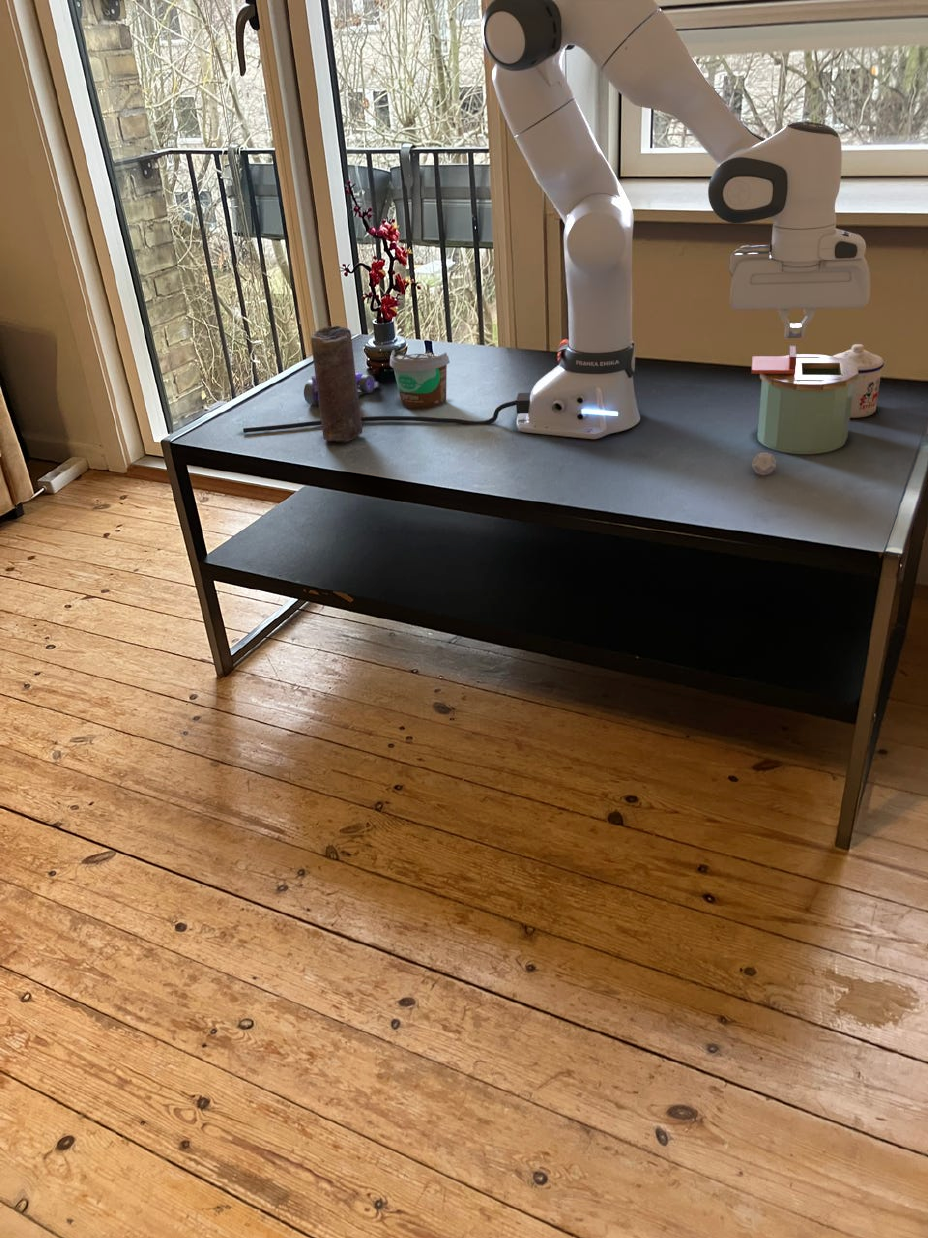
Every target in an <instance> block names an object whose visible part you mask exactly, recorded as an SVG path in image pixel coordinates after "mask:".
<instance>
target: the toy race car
mask: <svg viewBox="0 0 928 1238" xmlns="http://www.w3.org/2000/svg"><path fill="white" fill-rule="evenodd" d="M355 374H356V382H357V390H359V391H358V398H359V397H360V396H362V395H364V394H371V393H373V391H374V389H376V388H378V387H379V382H378V381H375V377H374V376H373V375H371V374H363V373H360V372H355ZM358 388H359V389H358ZM303 397H304V401H305V402H306V403H307V404H309V405H313V406H314V405H316V406H319V399H318V391H317V383H316V376H315V374H313V375H311V379H309V380H308V381H307V382H306V383H305V384H304V387H303Z"/></svg>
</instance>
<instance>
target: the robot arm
mask: <svg viewBox="0 0 928 1238" xmlns="http://www.w3.org/2000/svg"><path fill="white" fill-rule="evenodd" d="M481 38H482V43H483V46H484V48H485V51H486V52H487V55H488V56H489V58H490V59H491V60H492V61H493V62H494V63H495V64H494V66H493V68H492V73H491V78H492V80H491V81H492V85H493V87H494V91H495V94H496V97H497V100H498V101H497V102H498V104H499V107H500V109H501V111H502V113H503V116H504V118H505V121H506V123H507V126H508V127H509V130H510V132H511V134H512V136H513V138H514V140H515V142H516V145H518V148H519V149H520V152H521V154H522V155H523V158H524V160H525V161H526V163H527V166H528V168H529V169H530V171H531V173H532V175H533V177H534V179H535V181H536V183H537V184H538V185H539V186H540V187H541V189H542V190H543V192H544V193H545V194H546V196H547V198H548V199H549V200H550V202H551V203H552V206H553V207H554V209H555V210H556V211H557V213H558V215H559V216H560V218H561V220H562V222H563V224H564V230H563V253H564V254H563V255H564V271H565V284H566V295H567V313H568V314H567V317H568V321H567V322H568V339H567V338H565V339H562V340H561V341H560V343H559V345H558V350H557V363H558V365H556V366H555V367H554V368H552V370H550V371H549V372H547V373H546V374H545V375H543V376H542V377H541V378H539V380H538V381H537V382H536V383H535V384H534V386H533V387H532V389H531V391H530V392H518V393H517V395H516V399H515V400H511V401H508V402H504V403H501V404H500V405H498V406H497V407H496V408H495V409H494V411H493V414H492V417H491V418H488V419H486V420H482V421H475V420H469V419H468V420H467V419H462V418H453V417H452V418H451V417H449V418H448V417H434V416H433V417H432V416H421V415H420V416H418V415H372V416H371V415H370V416H369V415H367V416H361V422H377V421H379V422H380V421H381V422H382V421H396V422H397V421H402V422H404V421H405V422H427V423H439V424H441V423H442V424H457V425H465V426H481V425H491V424H492V423H495V422H496V421H497V420H498V417H499V413H500V412H501V411H502V410H504V409H507V408H510V407H515V408H516V414H518V415H517V418H516V428H517V429H518V430H519V431H520V432H522V433H530V434H540V435H548V436H556V437H557V436H559V437H569V438H578V439H586V440H587V439H589V440H597V439H601V438H604V437H605V436H608V435H611V434H614V433H619V432H623V431H627V430H629V429H632V428H633V427H635V426H636V425H638V423H640V421H641V415H640V412H639V408H638V404H637V399H636V394H635V393H636V392H635V386H634V374H635V369H636V350H635V342H634V341H633V235H634V224H635V223H634V222H635V217H634V216H635V215H634V211H633V210H634V209H633V207H632V205H631V202H630V200H629V199H628V197H627V195H626V193H625V191H624V189H623V187H622V185H621V184H620V182H619V179H618V177H617V176H616V173H615V172H614V171H613V169H612V167H611V165H610V163H609V162H608V160H607V158H606V157H605V155H604V153H603V152H602V150H601V148H600V146H599V144H598V142H597V140H596V138H595V136H594V134H593V132H592V130H591V127H590V125H589V123H588V121H587V119H586V117H585V116H584V113H583V111H582V109H581V108H580V105H579V103H578V101H577V99H576V97H575V94H574V93H573V90H572V89H571V87H570V85H569V82H568V81H567V79H566V76H565V74H564V70H563V64H562V63H563V62H562V61H563V55H564V53H565V51H571V50H573V49H574V48H575V47H578V48H580V49H581V50H582V51H584V52H585V53H586V55H587V56H588V57H589V58H590V59H591V61H592V63H594V65H595V66H596V67H597V69H598V70H599V71H600V72H601V74H602V75H603V76H604V77H605V80H607V81H608V82H609V83H610V85H611V86H612V87H613V88H614V89H615V90H616V91H617V92H618V93H619V94H621V95H622V96H623V97H624V98H625V99H627V101H629V103H632V104H633V105H634V106H635V107H636V106H637V107H641V108H645V109H651V110H654V111H658V112H661V113H664V114H666V115H668V116H670V117H673V118H674V119H676V120H677V121H678V122H679V123H681V124H682V125H683V126H684V127H685V128H686V129H687V131H689V133H690V134H691V135H692V136H693V138H694V139H695V140H696V141H697V142H698V143H699V144H700V146H701V147H702V148H703V149H704V150H705V151H706V153H707V154H708V155H709V156H710V157H711V158H712V160H713V161H714V163H715V164H716V166H717V167H716V169H715V171H714V172H713V174H712V175H711V177H710V179H709V183H708V187H707V197H708V201H709V205H710V207H711V209H712V210H713V212H714V214H715V215H716V216H717V217H718V218H720V219H721V220H723V221H725V222H727V223H730V224H748V223H751V222H757V221H761V220H765V219H769V218H772V231H771V232H772V233H771V244H761V245H760V244H759V245H751V246H750V245H742V246H740V247H739V248H737V249H736V250H733V252H732V253H731V254H730V256H729V257H728V272H729V274H730V275H731V277H732V279H731V284H730V291H729V301H728V302H729V303H728V304H729V306H730V308H731V309H732V310H734V311H771V310H772V311H773V310H775V311H776V310H777V311H778V317H779V319H780V321H781V323H782V325H783V327H784V339H804V338H805V337H806V328H807V327H808V325H809V324H810V323H811V321H812V320H813V318H814V317H815V310H818V309H821V310H823V309H825V310H827V309H861V308H864V307H865V306H866V305H867V304H868V303H869V302H870V296H871V295H870V294H871V274H870V267H869V264H868V261H867V259H866V257H865V254H866V250H867V244H866V240H865V239H864V238H863V236H861V235H860V234H858V233H853V232H851V231H846V230H843V229H840V228H837V214H836V202H837V198H838V196H839V192H840V189H841V178H842V164H843V163H842V156H843V154H842V151H843V149H842V142H841V137H840V135H839V133H838V132H837V131H836V130H835V129H834V128H833V127H831V126H830V125H826V124H823V123H819V122H813V121H793V122H790V123H787V124H786V125H785V126H784V127H783V128H782V129H780V130H779V131H778V132H776V133H775V134H773V135H772V136H770V137H767V138H765V137H763V136H762V135H759V134H758V133H755V132H754V131H752V130H751V129H749V128H748V127H747V126H746V124H745V123H744V122H743V121H742V120H741V119H740V117H739V116H738V115H737V114H736V113H735V112H734V111H733V109H732V108H731V107H730V105H728V103H727V102H726V101H725V100H724V99H723V98H722V96H721V95H720V94H719V92H718V91H717V90H716V89H715V88H714V87H713V85H712V84H711V83H710V82H709V81H708V79H707V78H706V76H705V74H704V73H703V72H702V70H701V68H700V66H699V65H698V64H697V62H696V61H695V58H694V57H693V56H692V53H691V52H690V51H689V49H688V47H687V45H686V43H685V42H684V40H683V39H682V37H681V35H680V34H679V33H678V31H677V29H676V27H674V25H673V23H672V22H671V21H670V19H669V18H668V16H667V15H666V13H664V11H663V10H662V8H660V6H659V5H658V4H657V2H656V1H655V0H491V2H490V3H489V4H488V5H487V7H486V9H485V11H484V14H483V16H482V20H481ZM790 310H803V313H804V316H805V317H803V319H802V321H801V323H790V321H789V319H788V317H789V315H790ZM314 426H322V424H321V419H320V420H311V421H303V422H293V423H284V424H275V425H274V424H273V425H265V426H264V425H263V426H253V427H251V426H250V427H242V432H243V434H244V433H247V434H248V433H256V432H257V433H258V432H268V431H279V430H288V429H297V428H305V427H314Z"/></svg>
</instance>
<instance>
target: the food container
mask: <svg viewBox="0 0 928 1238" xmlns="http://www.w3.org/2000/svg"><path fill="white" fill-rule="evenodd" d="M448 364H450V358H449V355H448V354H447V352H446V351H445V352H444V353H442V354H440V355H437V356H435V355H430V354H424V353H413V354H396V352H395V349H393V350H392V351H391V354H390V357H389V366H390V368H392V369H393V371H394V376H395V381H396V385H397V390H398V394H399V399H400V403H401V405H402V407H404V408H407V409H411V410H427V409H432V408H436V407H439V406H441V405H444V404H445V403H447V378H448V377H447V375H448V373H447V372H448V371H447V368H448V367H447V366H448Z"/></svg>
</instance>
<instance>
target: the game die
mask: <svg viewBox="0 0 928 1238" xmlns="http://www.w3.org/2000/svg"><path fill="white" fill-rule="evenodd" d="M776 464H777V460H776V459H775V457H774V454H773V453H769V452H766V451H763V452H759V453H757V454H756V455H755V457H754V458H753V459H752V464H751V465H752V466H751V468H752V469H753V470H754V472H755V474H758V475H761V476H767V475H770V474H772V472H773V471H775V469H776V466H777V465H776Z"/></svg>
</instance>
